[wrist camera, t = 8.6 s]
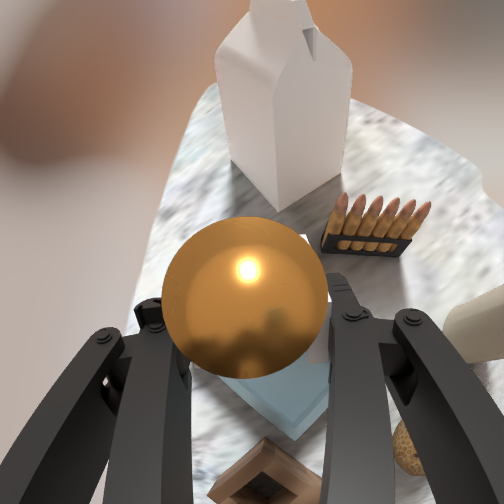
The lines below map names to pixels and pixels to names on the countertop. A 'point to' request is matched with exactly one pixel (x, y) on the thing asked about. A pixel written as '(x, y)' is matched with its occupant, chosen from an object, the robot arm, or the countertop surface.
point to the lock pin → (244, 297)
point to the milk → (284, 100)
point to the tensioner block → (274, 465)
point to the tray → (288, 395)
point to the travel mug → (478, 327)
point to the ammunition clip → (372, 227)
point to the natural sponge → (406, 451)
